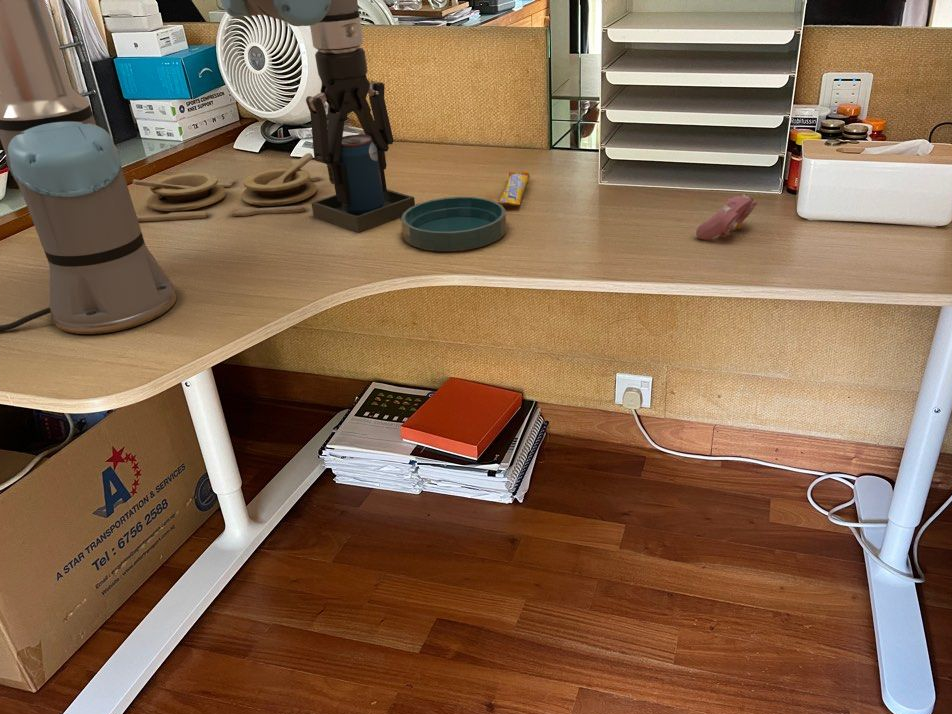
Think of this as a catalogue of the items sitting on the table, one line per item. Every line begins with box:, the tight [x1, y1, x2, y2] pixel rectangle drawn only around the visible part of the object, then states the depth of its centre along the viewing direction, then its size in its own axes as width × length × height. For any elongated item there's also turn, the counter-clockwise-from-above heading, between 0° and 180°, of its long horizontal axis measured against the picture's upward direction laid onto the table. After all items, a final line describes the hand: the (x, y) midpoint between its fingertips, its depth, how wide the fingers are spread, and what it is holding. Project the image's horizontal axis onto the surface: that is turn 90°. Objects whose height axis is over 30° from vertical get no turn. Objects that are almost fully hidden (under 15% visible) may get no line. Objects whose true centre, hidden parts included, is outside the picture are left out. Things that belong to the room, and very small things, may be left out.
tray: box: [310, 188, 416, 233], centre depth 141 cm, size 12×12×2 cm
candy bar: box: [496, 171, 531, 207], centre depth 147 cm, size 17×4×2 cm, turn 174°
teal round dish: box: [400, 196, 508, 252], centre depth 132 cm, size 16×16×3 cm
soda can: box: [340, 134, 384, 216], centre depth 138 cm, size 7×7×12 cm
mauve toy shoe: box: [695, 193, 758, 240], centre depth 127 cm, size 10×5×7 cm, turn 143°
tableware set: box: [132, 152, 320, 223], centre depth 149 cm, size 30×20×6 cm, turn 94°
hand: (362, 195), depth 140 cm, fingers closed on soda can, 7 cm apart
